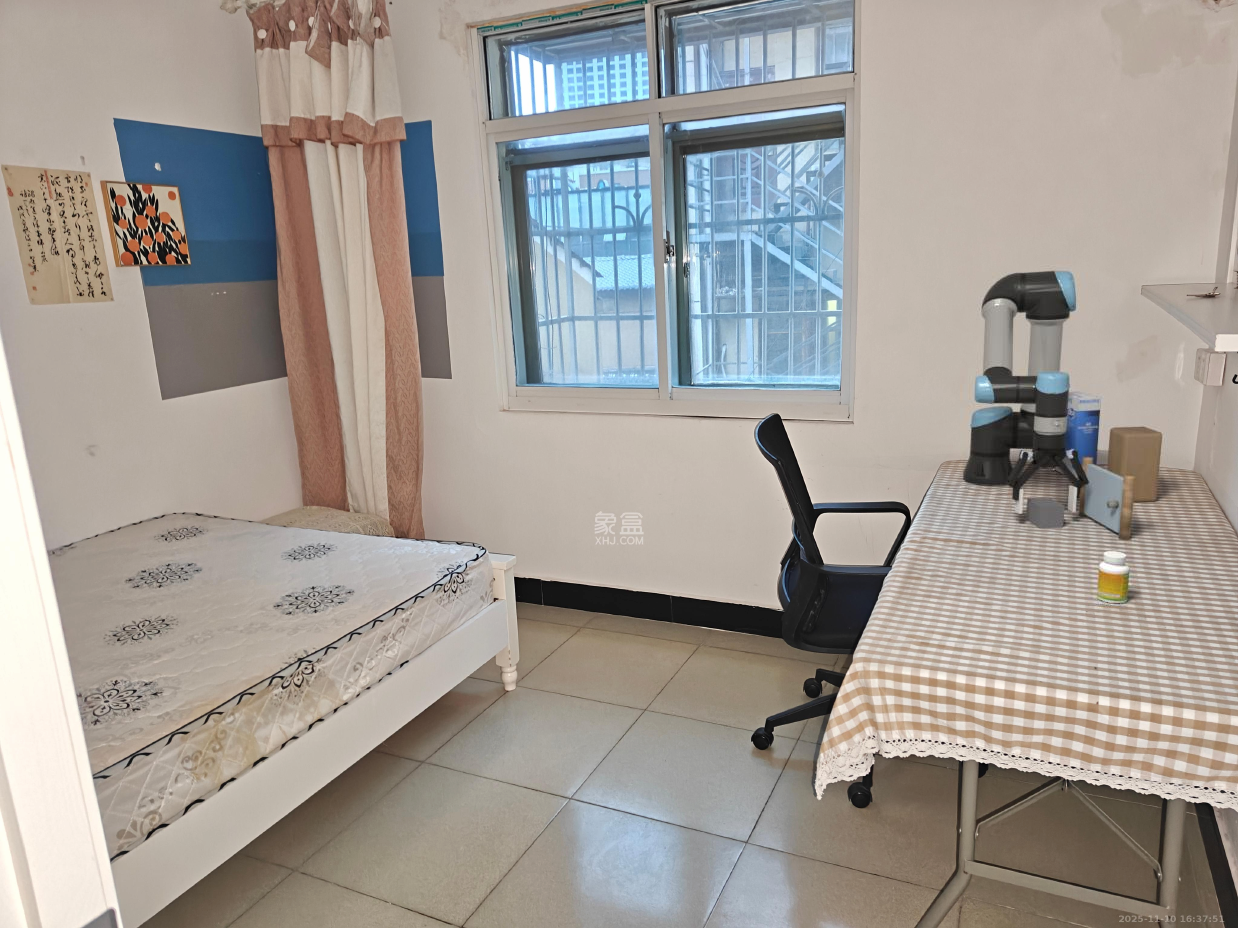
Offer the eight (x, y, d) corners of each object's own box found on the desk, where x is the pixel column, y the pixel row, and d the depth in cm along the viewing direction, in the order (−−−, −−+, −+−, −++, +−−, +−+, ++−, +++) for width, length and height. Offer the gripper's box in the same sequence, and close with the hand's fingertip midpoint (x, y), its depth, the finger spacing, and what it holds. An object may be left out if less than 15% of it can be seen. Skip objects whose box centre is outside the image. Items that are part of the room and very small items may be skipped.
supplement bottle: (1126, 605, 167) (1130, 560, 165) (1095, 601, 170) (1099, 556, 168) (1127, 596, 171) (1131, 551, 169) (1097, 592, 174) (1100, 548, 172)
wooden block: (1139, 493, 243) (1145, 425, 239) (1157, 502, 234) (1164, 432, 229) (1103, 493, 244) (1108, 427, 240) (1120, 503, 235) (1125, 433, 230)
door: (1076, 513, 224) (1079, 464, 221) (1089, 513, 224) (1093, 464, 221) (1108, 532, 208) (1112, 480, 205) (1123, 532, 207) (1128, 479, 204)
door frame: (1077, 514, 227) (1081, 456, 223) (1086, 513, 227) (1090, 456, 223) (1122, 540, 205) (1127, 477, 201) (1132, 540, 204) (1137, 476, 201)
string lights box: (1096, 478, 262) (1102, 396, 256) (1072, 479, 262) (1078, 398, 256) (1073, 468, 275) (1078, 390, 269) (1050, 469, 275) (1055, 392, 269)
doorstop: (1026, 520, 225) (1027, 498, 223) (1048, 519, 224) (1050, 497, 223) (1039, 528, 217) (1040, 506, 216) (1062, 528, 217) (1064, 505, 215)
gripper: (1006, 436, 212) (1002, 516, 217) (1107, 432, 211) (1101, 513, 215) (994, 431, 220) (991, 509, 224) (1092, 427, 218) (1086, 506, 223)
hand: (1045, 511), depth 220 cm, fingers open, 13 cm apart
